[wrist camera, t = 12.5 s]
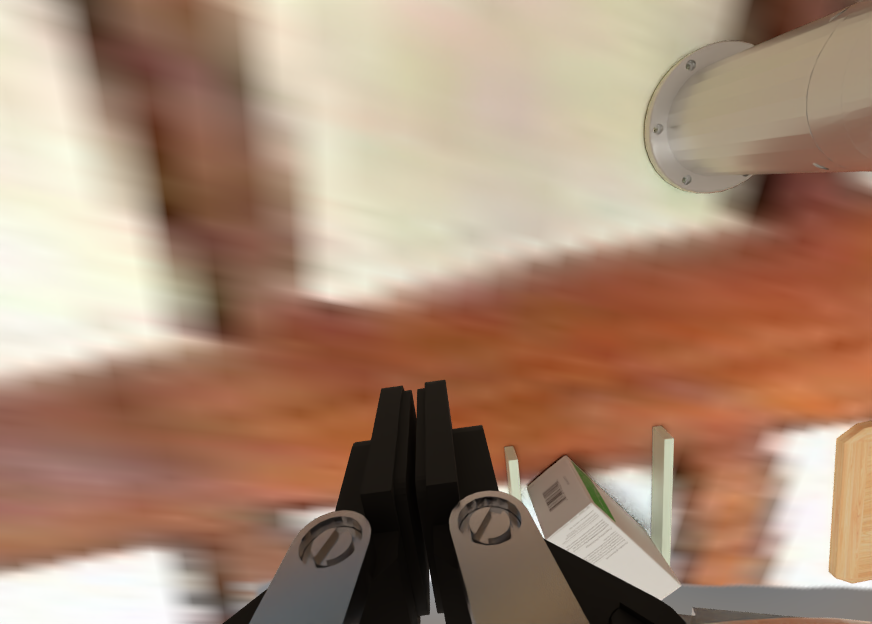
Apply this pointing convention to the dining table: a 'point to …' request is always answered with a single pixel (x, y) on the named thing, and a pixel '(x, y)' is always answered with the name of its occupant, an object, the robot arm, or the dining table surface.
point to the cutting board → (852, 506)
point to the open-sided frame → (660, 487)
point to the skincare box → (598, 529)
